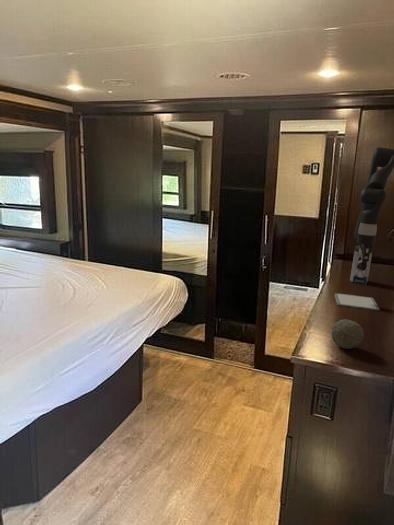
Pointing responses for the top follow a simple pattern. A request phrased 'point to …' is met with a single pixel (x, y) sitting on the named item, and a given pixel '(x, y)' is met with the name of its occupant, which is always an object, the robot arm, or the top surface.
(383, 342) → the top surface
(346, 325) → the decorative stone
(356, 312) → the top surface
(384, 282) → the top surface
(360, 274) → the watch
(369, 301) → the mat
